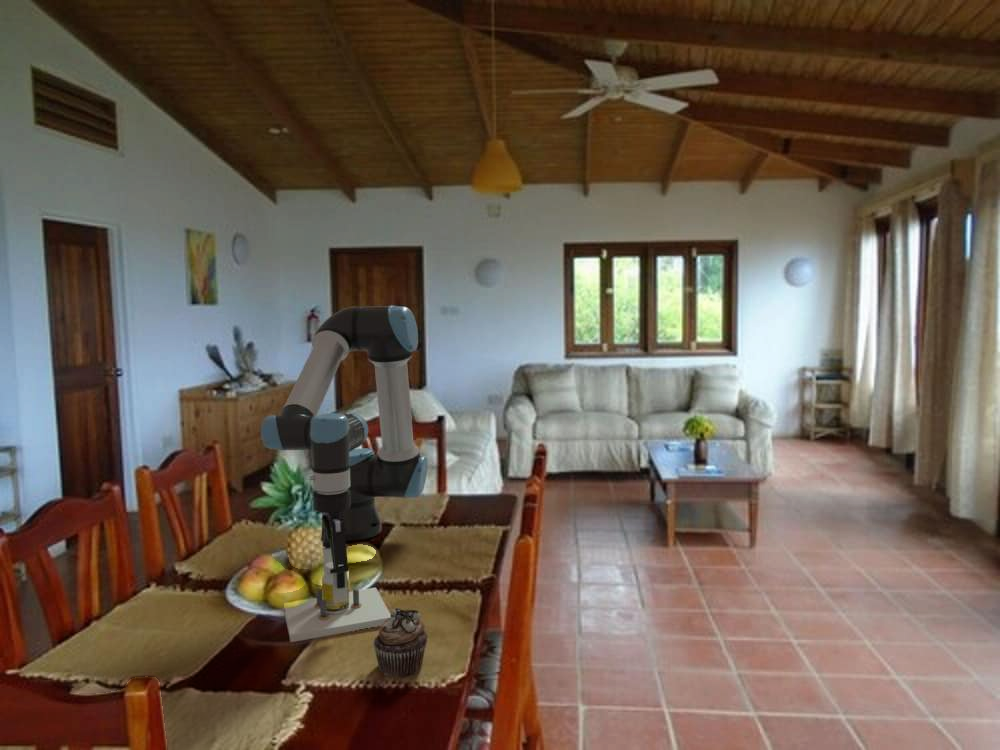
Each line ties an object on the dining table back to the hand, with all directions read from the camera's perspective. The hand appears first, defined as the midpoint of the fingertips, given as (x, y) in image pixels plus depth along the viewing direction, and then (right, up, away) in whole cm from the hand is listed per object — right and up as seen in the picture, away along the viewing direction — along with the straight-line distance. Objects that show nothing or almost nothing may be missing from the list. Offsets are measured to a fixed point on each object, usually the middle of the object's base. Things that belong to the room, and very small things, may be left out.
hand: (335, 589), depth 149 cm
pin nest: (0, -6, +1) cm, 6 cm away
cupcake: (+16, -8, -19) cm, 27 cm away
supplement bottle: (0, -5, +1) cm, 5 cm away
